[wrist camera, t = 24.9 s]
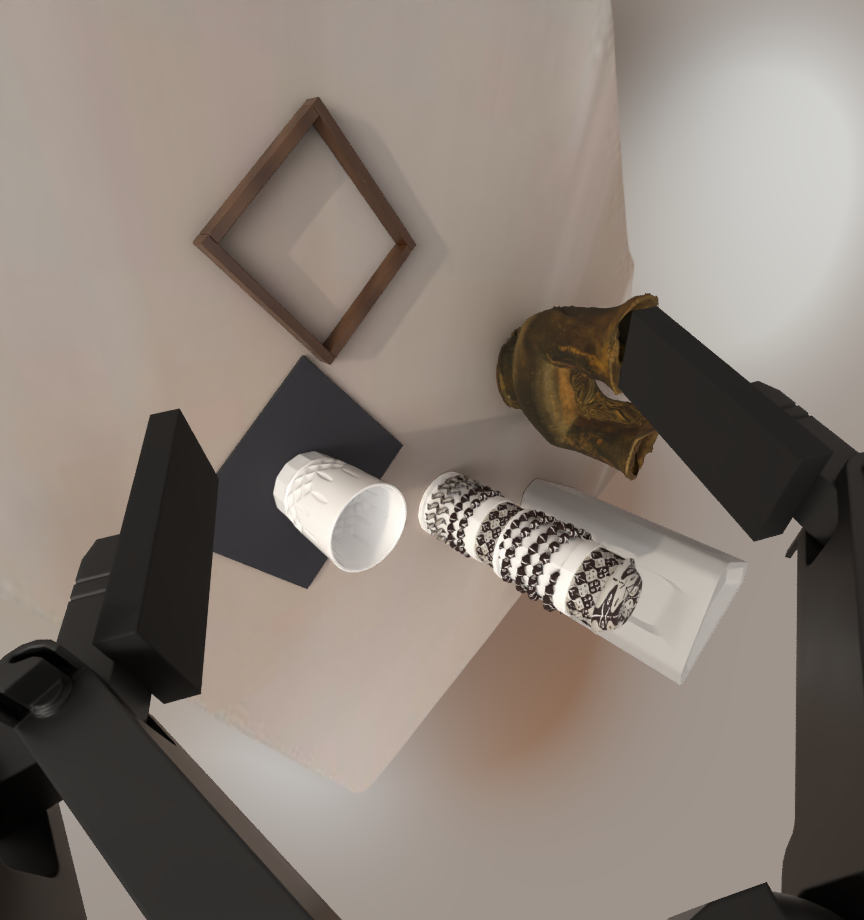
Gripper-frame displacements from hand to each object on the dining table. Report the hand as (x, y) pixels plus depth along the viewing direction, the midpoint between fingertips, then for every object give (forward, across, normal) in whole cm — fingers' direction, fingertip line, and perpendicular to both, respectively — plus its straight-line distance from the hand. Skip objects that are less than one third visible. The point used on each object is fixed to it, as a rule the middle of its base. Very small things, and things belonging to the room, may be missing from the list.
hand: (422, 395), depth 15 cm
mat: (+24, -9, -25) cm, 35 cm away
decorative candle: (+30, +5, -40) cm, 50 cm away
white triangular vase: (+37, +22, -56) cm, 71 cm away
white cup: (+24, -9, -25) cm, 35 cm away
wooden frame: (+31, -2, -6) cm, 32 cm away
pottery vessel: (+40, +19, -29) cm, 53 cm away
